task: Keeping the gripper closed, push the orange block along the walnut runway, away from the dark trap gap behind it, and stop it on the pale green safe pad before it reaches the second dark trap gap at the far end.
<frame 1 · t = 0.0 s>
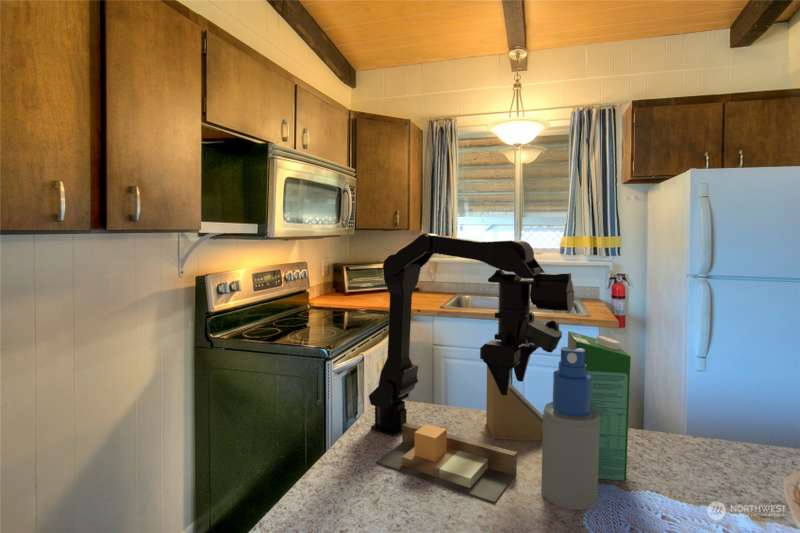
hand: (512, 387, 85), 15 cm above the table, tool pointing down, fingers open, 9 cm apart
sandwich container: (523, 432, 99), on the table
milk carton: (593, 467, 84), on the table
block: (430, 453, 85), point 2 cm above the table, touching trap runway
spray bottle: (568, 494, 75), on the table
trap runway: (444, 468, 83), on the table
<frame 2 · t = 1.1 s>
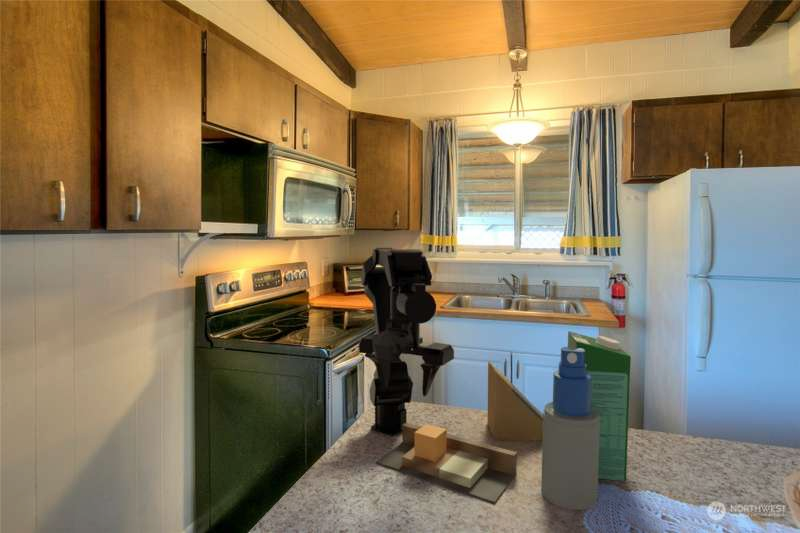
hand: (404, 391, 88), 13 cm above the table, tool pointing down, fingers open, 9 cm apart
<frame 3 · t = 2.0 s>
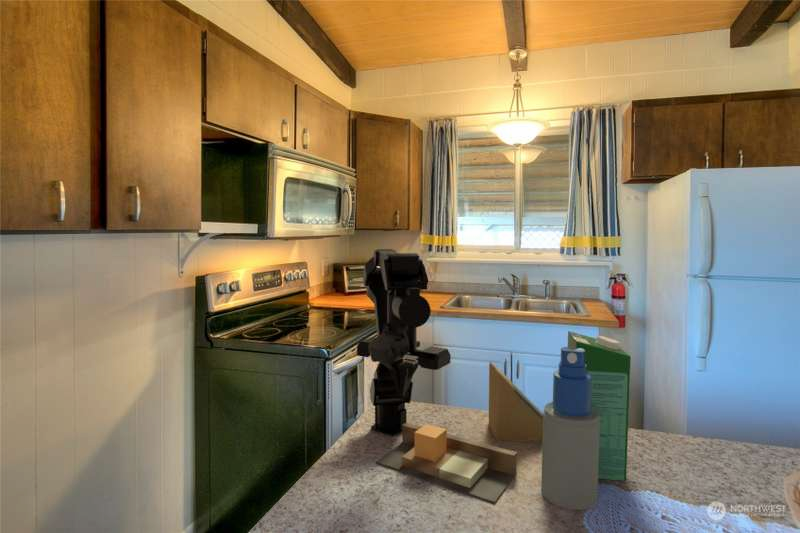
hand: (401, 394, 88), 12 cm above the table, tool pointing down, fingers closed
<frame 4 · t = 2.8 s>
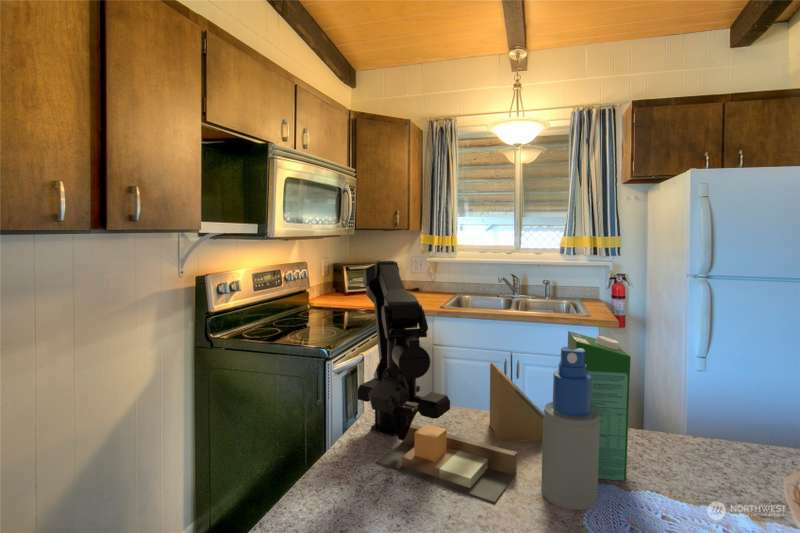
hand: (401, 439, 88), 3 cm above the table, tool pointing down, fingers closed
nothing on the table moved.
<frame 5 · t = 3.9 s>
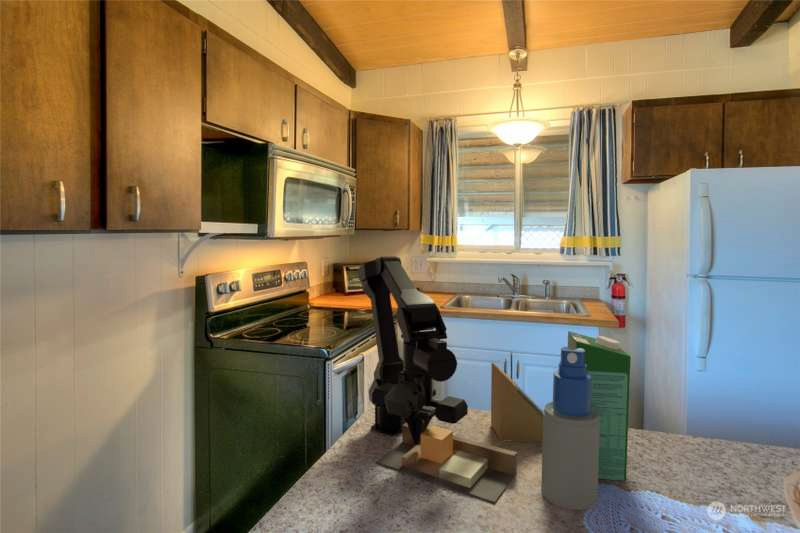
hand: (417, 444, 86), 3 cm above the table, tool pointing down, fingers closed
block: (436, 455, 84), point 2 cm above the table, touching gripper
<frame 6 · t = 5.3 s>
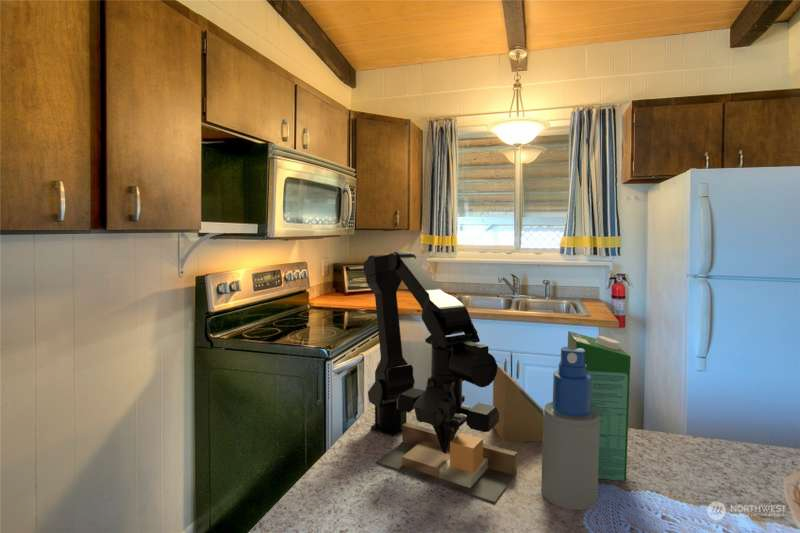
hand: (445, 452, 83), 3 cm above the table, tool pointing down, fingers closed
block: (466, 464, 81), point 2 cm above the table, touching gripper, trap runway
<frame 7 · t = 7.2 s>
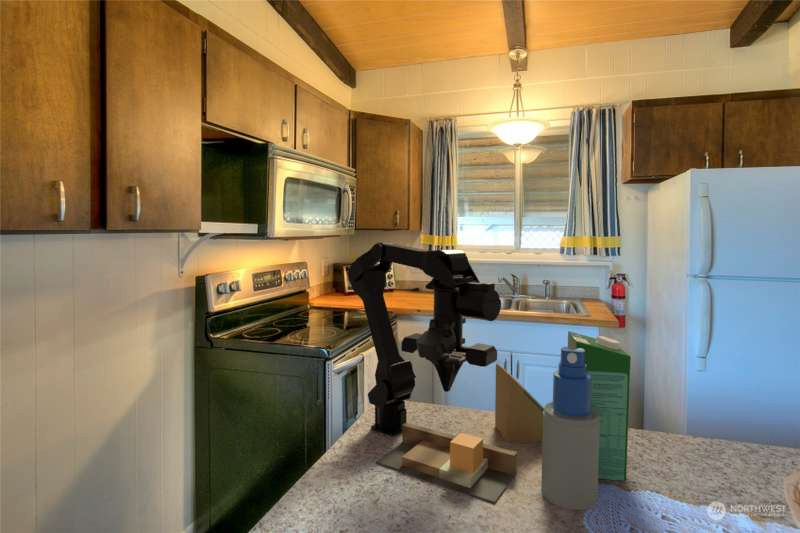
hand: (446, 391, 88), 13 cm above the table, tool pointing down, fingers closed
block: (466, 464, 81), point 2 cm above the table, touching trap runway
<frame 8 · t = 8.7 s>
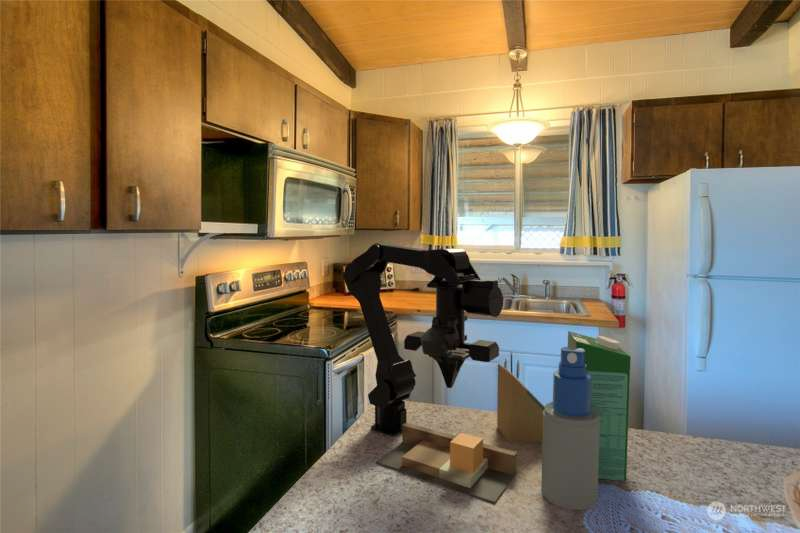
hand: (449, 387, 90), 13 cm above the table, tool pointing down, fingers closed
at the end: block 0.2 cm from the target spot on the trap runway, point 2.0 cm above the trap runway's base; block tilted 0° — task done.
